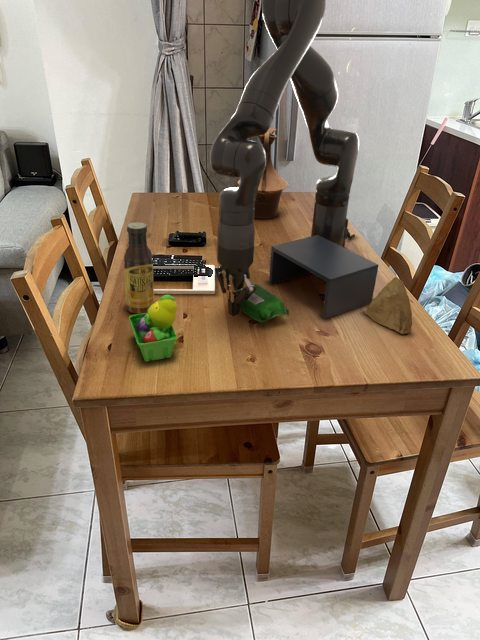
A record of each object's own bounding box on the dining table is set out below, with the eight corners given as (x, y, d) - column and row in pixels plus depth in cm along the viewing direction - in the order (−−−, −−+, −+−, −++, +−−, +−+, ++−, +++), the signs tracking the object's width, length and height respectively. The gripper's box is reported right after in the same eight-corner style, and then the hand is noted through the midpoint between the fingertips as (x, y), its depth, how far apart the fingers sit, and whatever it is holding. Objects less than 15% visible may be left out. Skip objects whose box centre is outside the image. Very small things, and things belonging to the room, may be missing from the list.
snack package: (264, 332, 109) (266, 311, 106) (223, 302, 120) (224, 282, 117) (290, 323, 113) (292, 303, 110) (248, 294, 123) (249, 275, 121)
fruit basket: (129, 336, 106) (125, 287, 100) (171, 329, 109) (169, 282, 103) (139, 367, 97) (135, 316, 91) (185, 359, 100) (183, 309, 94)
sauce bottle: (131, 317, 112) (123, 232, 102) (123, 305, 117) (114, 222, 107) (159, 311, 115) (154, 228, 105) (150, 299, 120) (145, 218, 109)
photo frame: (214, 289, 122) (139, 289, 121) (214, 294, 123) (139, 293, 122) (214, 264, 135) (145, 263, 134) (214, 268, 135) (146, 267, 134)
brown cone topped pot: (288, 223, 166) (295, 134, 152) (236, 221, 166) (238, 132, 152) (284, 206, 181) (291, 123, 167) (237, 204, 181) (239, 121, 167)
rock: (427, 327, 108) (414, 299, 116) (411, 301, 104) (398, 274, 111) (380, 349, 112) (370, 321, 120) (363, 325, 108) (354, 297, 115)
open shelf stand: (313, 269, 137) (317, 234, 131) (371, 302, 122) (378, 264, 117) (268, 282, 129) (271, 246, 124) (324, 319, 114) (330, 279, 109)
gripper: (270, 248, 101) (265, 323, 110) (233, 227, 110) (231, 297, 119) (238, 256, 97) (236, 332, 106) (203, 233, 106) (204, 305, 115)
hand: (233, 314), depth 113 cm, fingers closed
